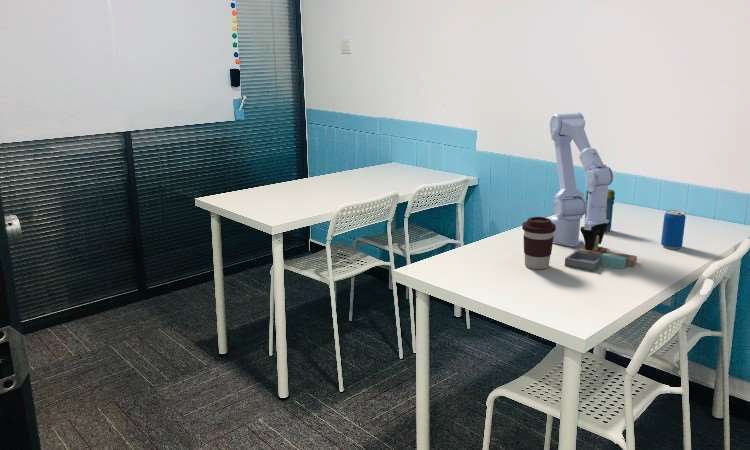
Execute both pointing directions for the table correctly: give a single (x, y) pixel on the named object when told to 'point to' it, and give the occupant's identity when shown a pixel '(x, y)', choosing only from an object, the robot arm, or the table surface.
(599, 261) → the tray
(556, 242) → the robot arm
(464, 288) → the table surface
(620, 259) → the teal rectangular block
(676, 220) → the beverage can
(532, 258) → the coffee cup
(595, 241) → the dowel
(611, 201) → the teal coffee bag
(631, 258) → the tan wooden slab
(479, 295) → the table surface
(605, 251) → the socket
